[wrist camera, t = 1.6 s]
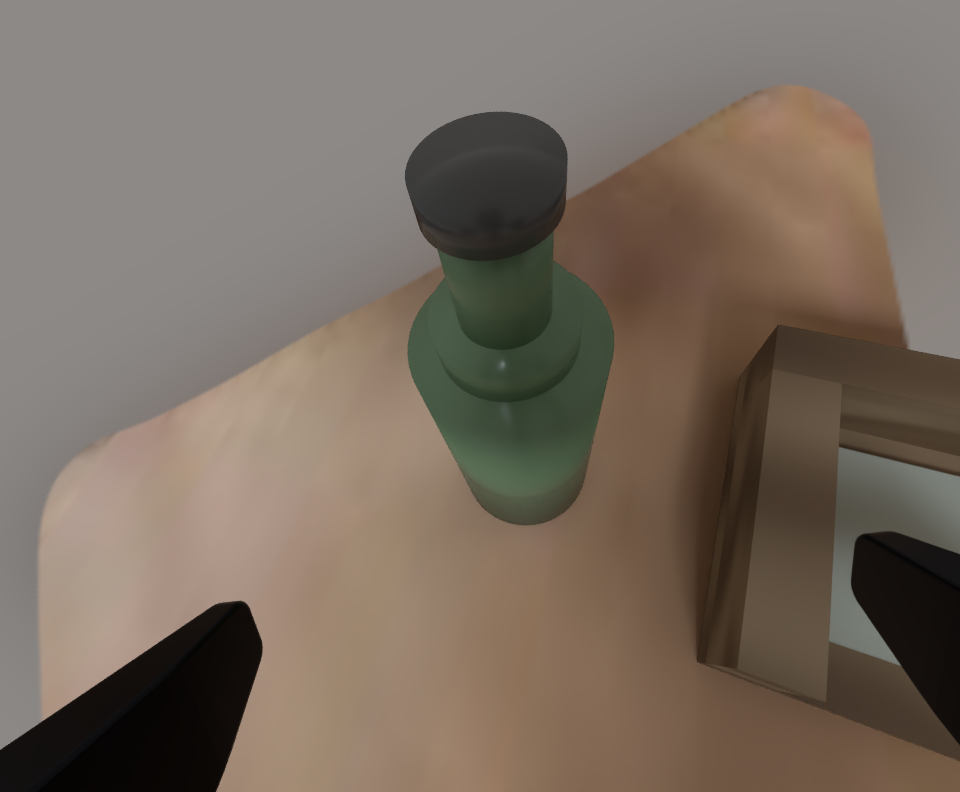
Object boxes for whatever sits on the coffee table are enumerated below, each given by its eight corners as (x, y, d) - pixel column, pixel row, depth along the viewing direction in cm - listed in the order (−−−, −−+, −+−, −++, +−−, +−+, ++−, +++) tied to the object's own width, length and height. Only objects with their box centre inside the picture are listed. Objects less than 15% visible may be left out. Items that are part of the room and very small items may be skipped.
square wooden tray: (1137, 828, 14) (1344, 895, 10) (697, 661, 17) (737, 668, 13) (1075, 450, 18) (1202, 405, 15) (740, 376, 21) (778, 324, 18)
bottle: (572, 539, 19) (627, 320, 6) (451, 507, 20) (271, 265, 7) (595, 424, 21) (673, 71, 8) (484, 401, 22) (393, 62, 9)
